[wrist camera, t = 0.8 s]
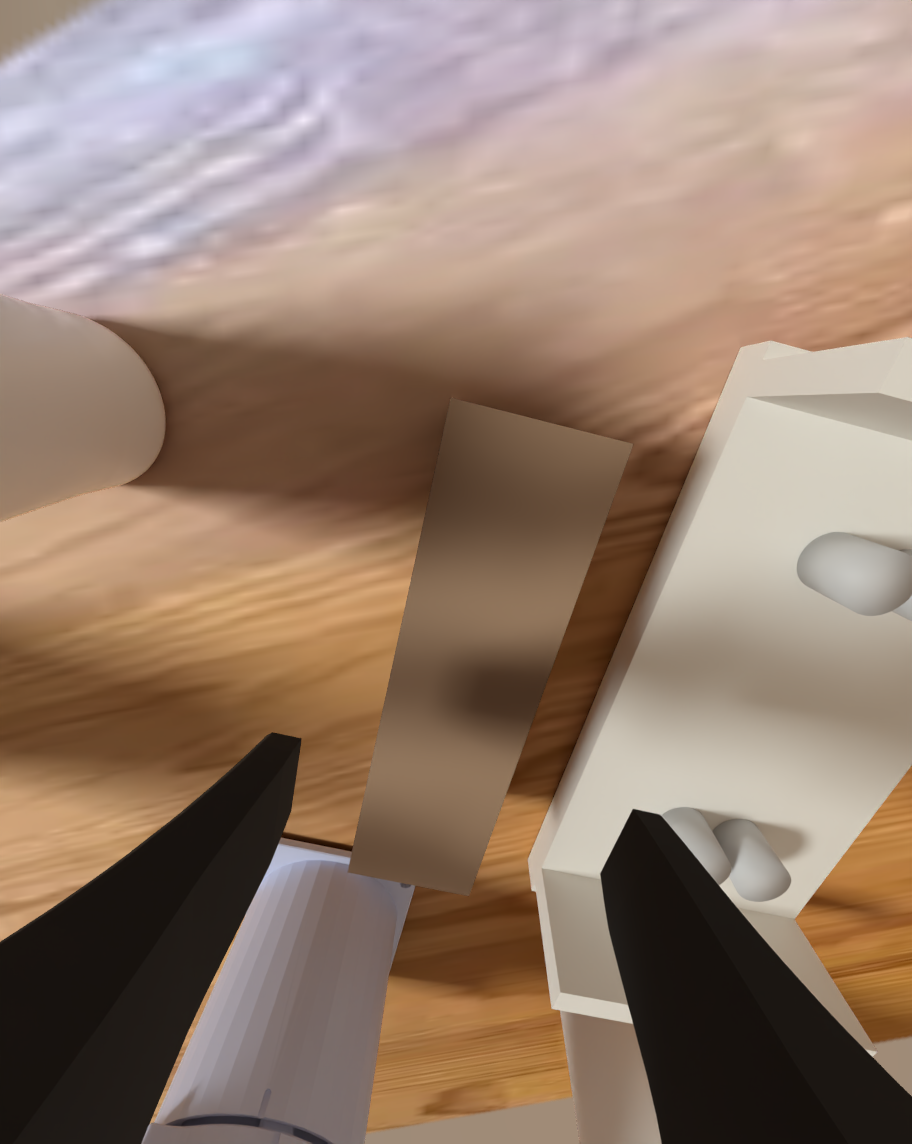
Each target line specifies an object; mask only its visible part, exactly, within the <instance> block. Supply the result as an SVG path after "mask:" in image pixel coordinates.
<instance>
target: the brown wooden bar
mask: <svg viewBox="0 0 912 1144" xmlns="http://www.w3.org/2000/svg"><path fill="white" fill-rule="evenodd" d="M632 447H633V444H632V443H628V442H624V441H620V440H616V439H612V438H608V437H604V436H600V435H596V434H592V433H589V432H585V431H581V430H577V429H573V428H569V427H565V426H561V425H557V424H553V423H549V422H545V421H541V420H537V419H533V418H530V417H526V416H522V415H518V414H514V413H510V412H506V411H502V410H498V409H494V408H490V407H486V406H482V405H478V404H474V403H470V402H467V401H463V400H459V399H455V398H450V403H449V408H448V412H447V417H446V421H445V426H444V431H443V435H442V440H441V444H440V449H439V454H438V458H437V463H436V467H435V472H434V477H433V481H432V486H431V490H430V495H429V500H428V504H427V509H426V513H425V518H424V523H423V527H422V532H421V536H420V541H419V546H418V550H417V555H416V559H415V564H414V569H413V573H412V578H411V582H410V587H409V592H408V596H407V601H406V605H405V610H404V615H403V619H402V624H401V628H400V633H399V638H398V642H397V647H396V651H395V656H394V661H393V665H392V670H391V674H390V679H389V684H388V688H387V693H386V697H385V702H384V707H383V711H382V716H381V720H380V725H379V730H378V734H377V739H376V743H375V748H374V753H373V757H372V762H371V766H370V771H369V776H368V780H367V785H366V789H365V794H364V799H363V803H362V808H361V812H360V817H359V822H358V826H357V831H356V835H355V840H354V845H353V849H352V854H351V858H350V863H349V868H348V873H353V874H358V875H363V876H368V877H373V878H378V879H383V880H389V881H394V882H399V883H404V884H409V885H414V886H419V887H425V888H430V889H435V890H440V891H445V892H450V893H455V894H461V895H466V896H469V895H470V892H471V889H472V886H473V884H474V881H475V878H476V875H477V873H478V870H479V867H480V865H481V862H482V859H483V856H484V854H485V851H486V848H487V845H488V843H489V840H490V837H491V834H492V832H493V829H494V826H495V823H496V821H497V818H498V815H499V812H500V810H501V807H502V804H503V801H504V799H505V796H506V793H507V790H508V788H509V785H510V782H511V779H512V777H513V774H514V771H515V768H516V766H517V763H518V760H519V757H520V755H521V752H522V749H523V746H524V744H525V741H526V738H527V735H528V733H529V730H530V727H531V724H532V722H533V719H534V716H535V713H536V711H537V708H538V705H539V702H540V700H541V697H542V694H543V691H544V689H545V686H546V683H547V680H548V678H549V675H550V672H551V669H552V667H553V664H554V661H555V658H556V656H557V653H558V650H559V647H560V645H561V642H562V639H563V636H564V634H565V631H566V628H567V625H568V623H569V620H570V617H571V614H572V612H573V609H574V606H575V603H576V601H577V598H578V595H579V593H580V590H581V587H582V584H583V582H584V579H585V576H586V573H587V571H588V568H589V565H590V562H591V560H592V557H593V554H594V551H595V549H596V546H597V543H598V540H599V538H600V535H601V532H602V529H603V527H604V524H605V521H606V518H607V516H608V513H609V510H610V507H611V505H612V502H613V499H614V496H615V494H616V491H617V488H618V485H619V483H620V480H621V477H622V474H623V472H624V469H625V466H626V463H627V461H628V458H629V455H630V452H631V450H632Z"/></svg>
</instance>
